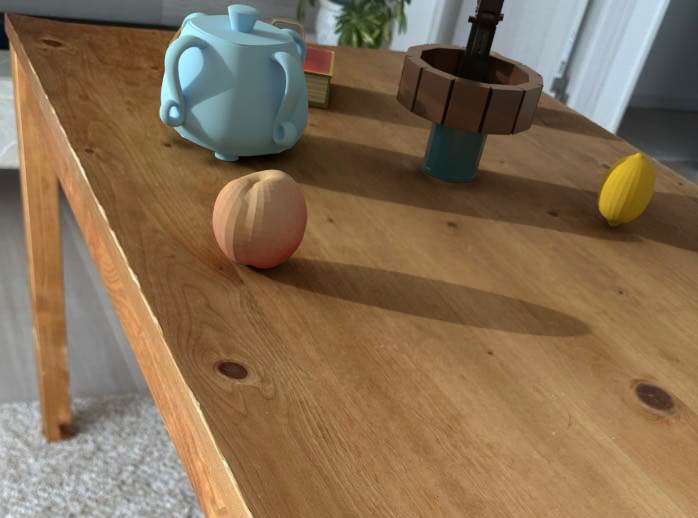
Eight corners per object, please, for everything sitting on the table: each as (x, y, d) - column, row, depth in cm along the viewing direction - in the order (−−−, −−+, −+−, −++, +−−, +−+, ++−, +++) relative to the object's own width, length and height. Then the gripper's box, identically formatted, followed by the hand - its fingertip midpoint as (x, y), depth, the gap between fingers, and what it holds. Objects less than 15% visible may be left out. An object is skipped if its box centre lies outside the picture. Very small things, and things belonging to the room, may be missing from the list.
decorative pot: (139, 150, 94) (143, 7, 85) (180, 106, 106) (187, -24, 96) (287, 183, 93) (306, 42, 84) (311, 135, 105) (331, 7, 96)
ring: (528, 104, 104) (541, 63, 101) (530, 145, 93) (545, 100, 89) (403, 77, 104) (412, 35, 101) (390, 114, 93) (400, 68, 90)
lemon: (577, 219, 98) (605, 146, 92) (605, 212, 101) (633, 140, 95) (618, 240, 95) (649, 166, 90) (645, 232, 98) (677, 159, 93)
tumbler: (475, 168, 105) (495, 97, 100) (474, 187, 101) (495, 113, 95) (423, 156, 106) (441, 85, 100) (419, 175, 101) (437, 101, 95)
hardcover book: (181, 55, 121) (183, 20, 118) (330, 82, 122) (335, 48, 119) (166, 79, 112) (167, 43, 110) (326, 108, 113) (332, 73, 111)
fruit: (232, 234, 82) (241, 147, 77) (311, 259, 81) (325, 172, 75) (195, 266, 76) (201, 174, 71) (279, 293, 75) (292, 201, 70)
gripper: (499, -182, 92) (441, 62, 108) (498, -174, 82) (433, 95, 98) (569, -167, 92) (500, 75, 108) (577, -158, 81) (499, 109, 97)
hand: (468, 84), depth 103 cm, fingers closed on ring, 2 cm apart
